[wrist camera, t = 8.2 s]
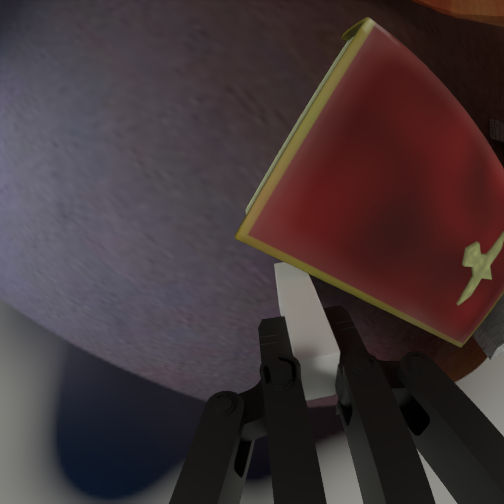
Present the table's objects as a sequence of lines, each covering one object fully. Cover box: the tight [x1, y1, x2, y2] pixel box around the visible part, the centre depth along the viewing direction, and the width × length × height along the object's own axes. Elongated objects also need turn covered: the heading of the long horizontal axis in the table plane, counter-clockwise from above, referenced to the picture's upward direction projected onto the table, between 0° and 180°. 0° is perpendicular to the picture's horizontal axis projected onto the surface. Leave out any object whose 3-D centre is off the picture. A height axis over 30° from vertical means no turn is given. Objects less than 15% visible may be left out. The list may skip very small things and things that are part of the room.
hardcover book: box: [235, 17, 504, 348], centre depth 13 cm, size 12×21×4 cm, turn 61°
